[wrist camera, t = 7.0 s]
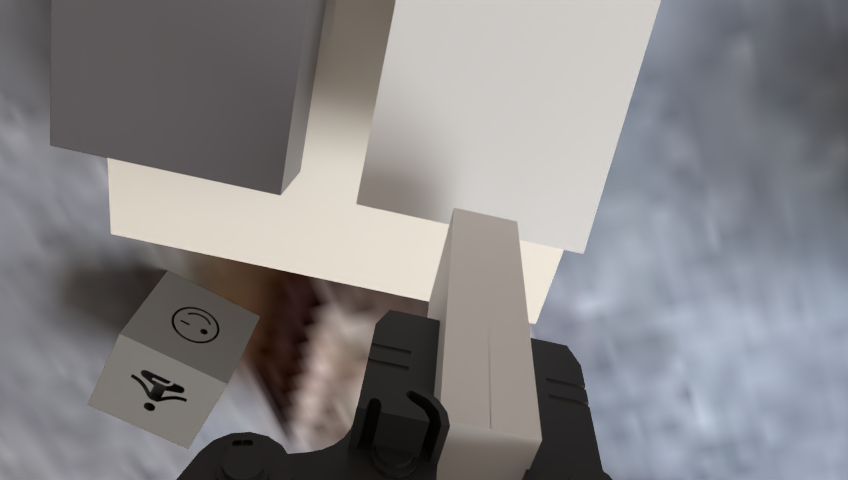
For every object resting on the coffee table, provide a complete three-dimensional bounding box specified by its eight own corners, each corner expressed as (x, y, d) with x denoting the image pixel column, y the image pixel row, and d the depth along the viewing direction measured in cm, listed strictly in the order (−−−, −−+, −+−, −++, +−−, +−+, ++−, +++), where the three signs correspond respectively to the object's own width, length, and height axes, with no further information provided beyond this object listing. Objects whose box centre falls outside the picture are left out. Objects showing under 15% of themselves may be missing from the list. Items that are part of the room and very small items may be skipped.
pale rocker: (365, 185, 19) (356, 204, 16) (443, -204, 16) (443, -247, 14) (565, 229, 19) (583, 253, 17) (675, -145, 16) (715, -178, 14)
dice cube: (260, 315, 33) (227, 384, 28) (223, 377, 35) (188, 449, 31) (168, 269, 32) (119, 333, 27) (136, 336, 34) (87, 404, 30)
